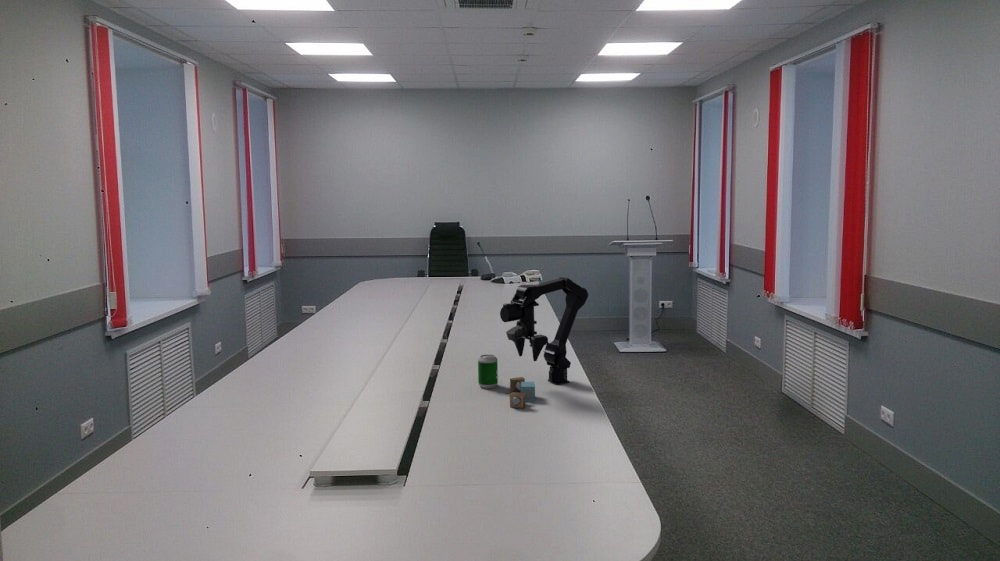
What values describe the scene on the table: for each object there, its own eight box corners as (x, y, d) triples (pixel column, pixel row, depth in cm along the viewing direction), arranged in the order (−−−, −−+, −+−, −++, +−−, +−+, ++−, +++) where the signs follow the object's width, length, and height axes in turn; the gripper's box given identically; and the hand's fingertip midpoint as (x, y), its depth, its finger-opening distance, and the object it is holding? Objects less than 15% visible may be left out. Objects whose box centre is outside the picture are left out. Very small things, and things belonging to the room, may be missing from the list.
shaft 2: (521, 410, 225) (521, 396, 224) (508, 408, 227) (508, 395, 226) (529, 403, 231) (528, 390, 230) (516, 402, 233) (515, 389, 232)
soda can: (495, 389, 248) (495, 359, 246) (476, 388, 250) (475, 358, 248) (499, 383, 255) (499, 354, 254) (481, 383, 257) (480, 353, 255)
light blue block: (521, 396, 240) (521, 381, 240) (534, 396, 240) (534, 381, 239) (521, 401, 234) (521, 386, 233) (535, 401, 234) (534, 386, 233)
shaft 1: (508, 389, 248) (508, 377, 247) (521, 388, 250) (520, 376, 249) (516, 395, 241) (515, 382, 241) (528, 393, 243) (528, 380, 242)
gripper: (495, 317, 248) (496, 357, 251) (524, 325, 233) (525, 367, 235) (518, 313, 254) (519, 352, 257) (548, 321, 239) (549, 362, 241)
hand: (527, 358), depth 247 cm, fingers open, 9 cm apart
